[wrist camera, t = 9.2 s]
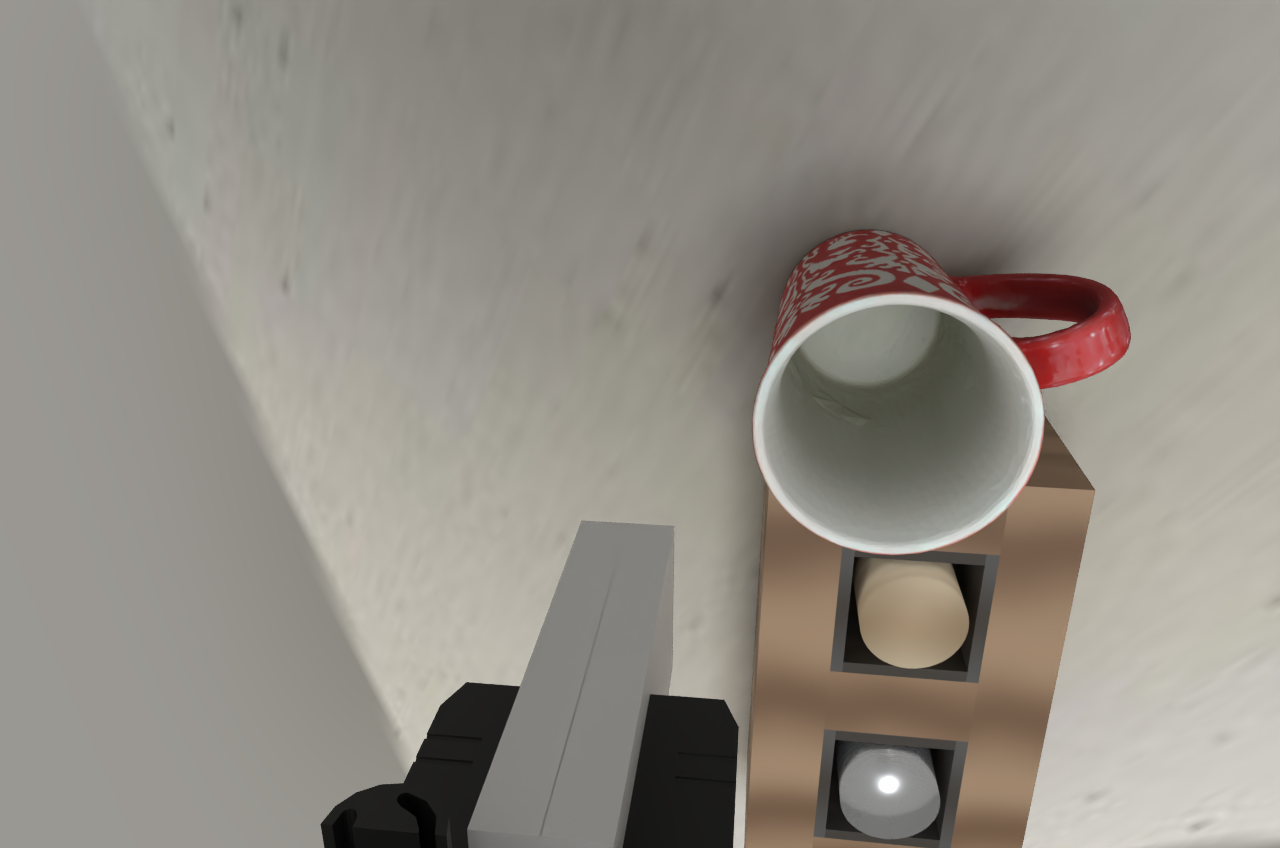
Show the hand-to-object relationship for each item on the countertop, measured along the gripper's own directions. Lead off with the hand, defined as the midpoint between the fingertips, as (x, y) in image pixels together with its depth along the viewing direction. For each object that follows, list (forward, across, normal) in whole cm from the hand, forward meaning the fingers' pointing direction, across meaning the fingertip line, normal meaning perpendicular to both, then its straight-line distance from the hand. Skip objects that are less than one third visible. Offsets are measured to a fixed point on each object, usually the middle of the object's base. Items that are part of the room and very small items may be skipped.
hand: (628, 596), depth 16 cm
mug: (+29, +8, -3) cm, 31 cm away
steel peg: (+28, +8, -23) cm, 37 cm away
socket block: (+29, +8, -18) cm, 35 cm away
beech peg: (+29, +9, -14) cm, 33 cm away
